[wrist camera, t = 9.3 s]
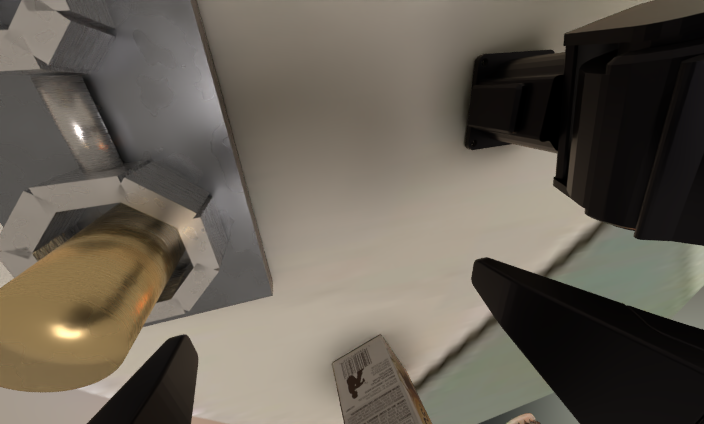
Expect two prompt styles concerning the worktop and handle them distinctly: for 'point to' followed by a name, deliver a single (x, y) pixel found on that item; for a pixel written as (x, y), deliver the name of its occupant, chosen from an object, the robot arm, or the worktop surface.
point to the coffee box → (376, 387)
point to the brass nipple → (85, 302)
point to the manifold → (123, 142)
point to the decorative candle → (523, 419)
